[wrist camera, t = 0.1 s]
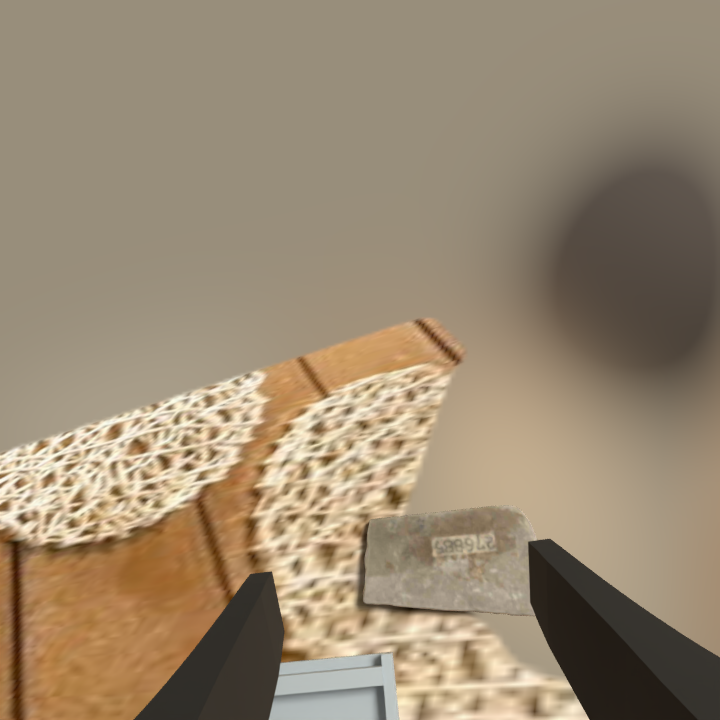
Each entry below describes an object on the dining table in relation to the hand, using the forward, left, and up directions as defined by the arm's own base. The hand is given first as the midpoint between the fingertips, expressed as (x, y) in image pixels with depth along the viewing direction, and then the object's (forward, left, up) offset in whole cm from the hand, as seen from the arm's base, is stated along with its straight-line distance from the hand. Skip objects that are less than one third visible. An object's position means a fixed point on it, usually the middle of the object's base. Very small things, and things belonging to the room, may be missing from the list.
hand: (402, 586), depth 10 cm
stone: (+4, -6, -33) cm, 34 cm away
